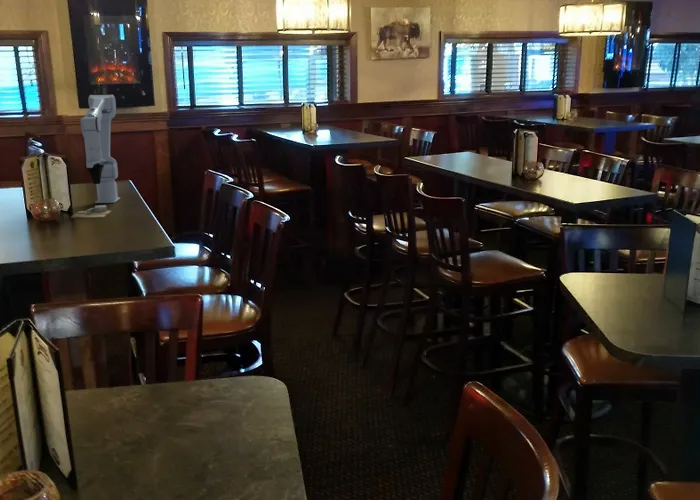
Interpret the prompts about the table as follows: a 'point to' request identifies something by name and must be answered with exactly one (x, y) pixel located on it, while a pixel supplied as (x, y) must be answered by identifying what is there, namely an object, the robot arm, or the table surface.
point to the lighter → (97, 209)
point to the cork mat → (95, 215)
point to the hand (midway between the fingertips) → (97, 183)
